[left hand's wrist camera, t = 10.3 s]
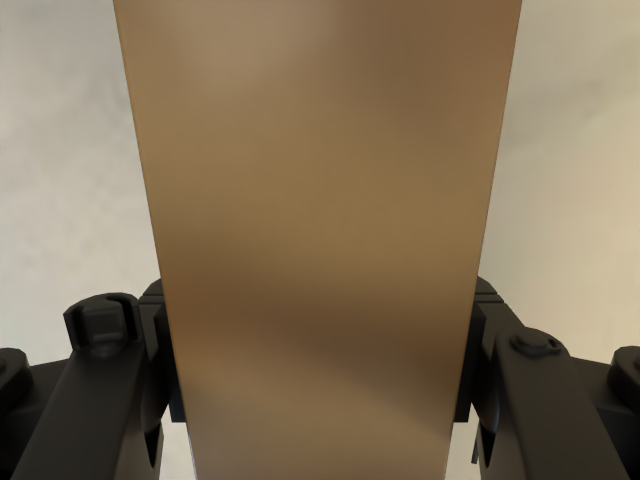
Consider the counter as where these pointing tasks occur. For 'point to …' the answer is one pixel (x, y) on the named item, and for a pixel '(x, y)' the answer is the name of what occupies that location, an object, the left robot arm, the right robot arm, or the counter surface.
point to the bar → (318, 220)
